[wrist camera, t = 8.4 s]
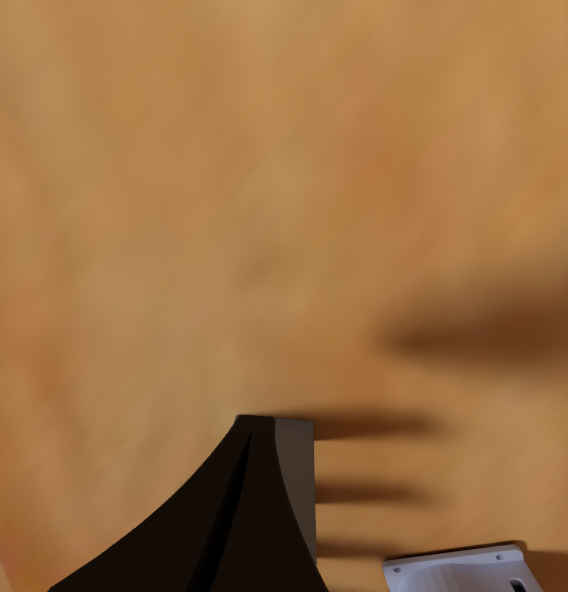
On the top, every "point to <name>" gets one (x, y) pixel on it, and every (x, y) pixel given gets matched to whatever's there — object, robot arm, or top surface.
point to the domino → (298, 473)
